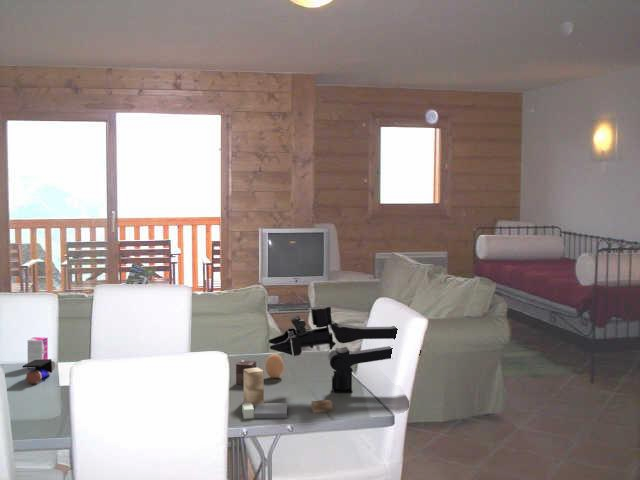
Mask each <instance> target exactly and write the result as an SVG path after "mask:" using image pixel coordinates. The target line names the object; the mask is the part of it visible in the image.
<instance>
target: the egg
mask: <svg viewBox="0 0 640 480" xmlns="http://www.w3.org/2000/svg"><path fill="white" fill-rule="evenodd" d="M284 369H285V365H284V360H283V358H282V357H281V355H279V354H278V353H273V354H270V355H269V356H268V357H267V359H266V362H265V372H266V374H267V375H268V376H269V377H270V378H273V379H276V378H277V379H278V378H279V377H280V376H282V374H283V372H284Z"/></svg>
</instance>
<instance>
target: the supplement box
mask: <svg viewBox="0 0 640 480" xmlns="http://www.w3.org/2000/svg"><path fill="white" fill-rule="evenodd" d="M48 341H49V340H48V337H37V336H36V337H32V338H29V339H27V363H30V362H32V361H34V360H41V359H48V357H49V356H48V354H49V353H48V351H49V350H48V348H49V347H48ZM28 369H30V371H32V370H35V367H27V370H28Z"/></svg>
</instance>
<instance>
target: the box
mask: <svg viewBox="0 0 640 480" xmlns="http://www.w3.org/2000/svg"><path fill="white" fill-rule="evenodd" d="M235 366H236V367H235V382H236V383H235V384H236V385H244V369H249V368H257V360H239V361H238V362H237V363H236V364H235Z"/></svg>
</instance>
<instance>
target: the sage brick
mask: <svg viewBox="0 0 640 480" xmlns="http://www.w3.org/2000/svg"><path fill="white" fill-rule="evenodd" d="M241 405H242V406H241V408H242V409H241V412H242V416H243V419H244V420H246V419H247V420H249V419H255V418H254V411H255V407H254V406H253V405H252V403H242V404H241Z"/></svg>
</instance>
